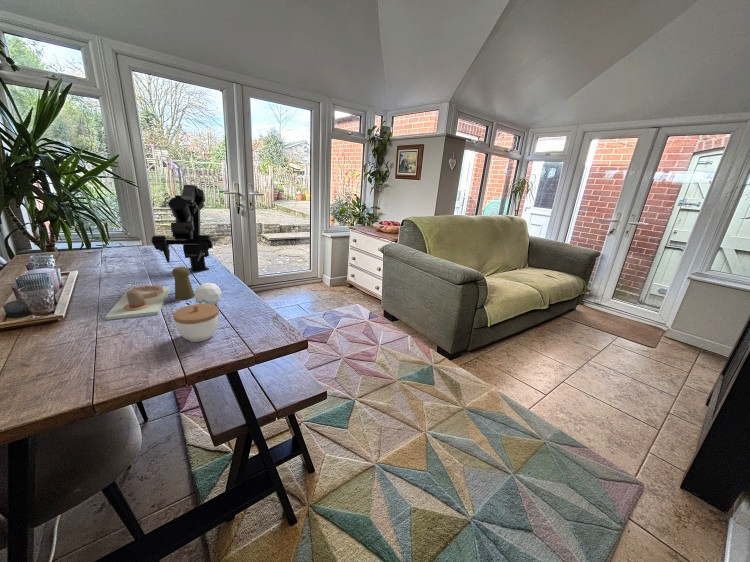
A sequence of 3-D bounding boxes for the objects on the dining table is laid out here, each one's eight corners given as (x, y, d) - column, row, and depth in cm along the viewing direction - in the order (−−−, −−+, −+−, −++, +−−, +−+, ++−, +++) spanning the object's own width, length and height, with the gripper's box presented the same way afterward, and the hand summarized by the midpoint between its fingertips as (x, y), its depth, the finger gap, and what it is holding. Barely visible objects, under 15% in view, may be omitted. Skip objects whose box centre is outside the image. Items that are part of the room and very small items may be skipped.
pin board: (128, 292, 109) (124, 276, 107) (170, 289, 114) (168, 274, 112) (106, 319, 89) (101, 301, 87) (158, 314, 95) (155, 296, 93)
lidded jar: (227, 338, 84) (223, 307, 81) (183, 351, 77) (177, 318, 74) (214, 323, 91) (210, 295, 88) (173, 334, 84) (167, 304, 81)
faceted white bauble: (227, 289, 108) (223, 307, 98) (209, 302, 108) (202, 321, 98) (211, 274, 104) (204, 290, 93) (191, 287, 104) (182, 305, 94)
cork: (175, 301, 104) (170, 271, 101) (174, 295, 109) (169, 266, 105) (195, 298, 108) (191, 268, 104) (193, 292, 112) (189, 264, 109)
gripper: (147, 212, 105) (144, 251, 99) (207, 213, 112) (207, 249, 106) (157, 231, 115) (155, 267, 108) (212, 231, 121) (213, 264, 115)
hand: (182, 261), depth 109 cm, fingers open, 9 cm apart
